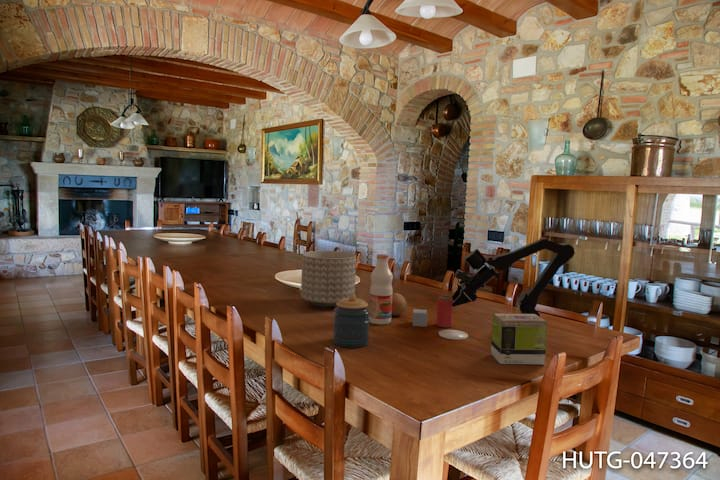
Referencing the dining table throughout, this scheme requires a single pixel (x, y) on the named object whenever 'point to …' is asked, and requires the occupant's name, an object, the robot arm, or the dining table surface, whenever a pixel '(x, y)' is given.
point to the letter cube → (419, 317)
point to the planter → (327, 277)
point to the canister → (351, 323)
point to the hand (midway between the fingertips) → (451, 303)
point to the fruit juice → (381, 292)
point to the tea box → (518, 338)
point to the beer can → (444, 312)
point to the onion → (398, 304)
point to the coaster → (453, 334)
